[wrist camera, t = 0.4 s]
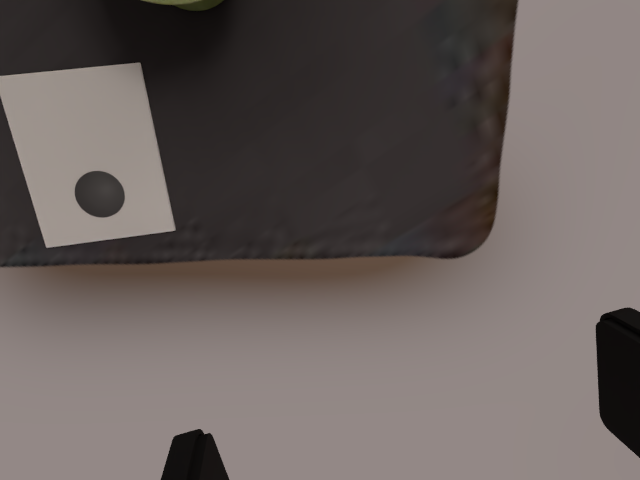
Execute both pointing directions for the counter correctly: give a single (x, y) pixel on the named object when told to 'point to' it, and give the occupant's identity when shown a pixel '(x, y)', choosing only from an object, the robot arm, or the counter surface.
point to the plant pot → (188, 4)
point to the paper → (88, 153)
